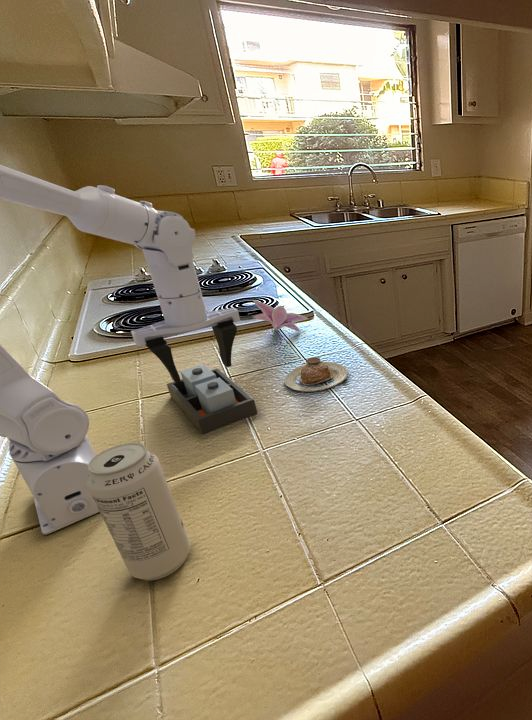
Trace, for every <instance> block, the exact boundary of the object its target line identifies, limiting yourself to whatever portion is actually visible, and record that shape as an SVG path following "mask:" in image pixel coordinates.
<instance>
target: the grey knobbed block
mask: <svg viewBox="0 0 532 720" xmlns="http://www.w3.org/2000/svg"><path fill="white" fill-rule="evenodd" d="M195 388H196V392H197V395H198V398H199V401H200V404H201V408H202V410H203V411H204V413H205V414H206V415H207V414H209V413H212V412H215V411H218V410H220V409H223V408H226V407H228V406H231V405H234V404H236V400H235V396H234V393H233V389H232V388H231V387H229V386H228V385H227V384H226V383H225V382H224V381H223V380H222V379H221V378H216V379H213V380H210V381H207V382H204V383H201V384H198V385H195Z"/></svg>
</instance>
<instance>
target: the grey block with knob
mask: <svg viewBox="0 0 532 720" xmlns="http://www.w3.org/2000/svg"><path fill="white" fill-rule="evenodd" d="M211 370H212V369H210V368H209V367H208V366H207V365H206V364H205V363H203V364H199V365H196V366H192V367H189V368H187V369H183V370H180V371H179V372H180V375H181V379H183V382H184V385H185V388H186V391H187V394H188V396H189V397H191V396H194V395H197V392H196V388H195V385H198V384H201V383H204V382H207V381H210V380H213V379H216V378H217V377H216V375H215V374H214V373H213V372H212V371H211Z"/></svg>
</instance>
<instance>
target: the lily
mask: <svg viewBox="0 0 532 720" xmlns="http://www.w3.org/2000/svg"><path fill="white" fill-rule="evenodd" d="M252 302H253V303H254V304H255V305H256V307H258V308H259V309H260V311H261V312H262V313H259V314H255V315H254V316H252V318H253V319H257V320H260V321H266V322H269V323H270V324H271V325H272V328H273V337H272V341H273V343H274V342H275V340H276V331H279V330H280V329H283V328H288V329H290V330H293V331H296V332H298V333H301V330H300V329H299V327H298V326H297V325H296V324H295V323H299V322H302V321H306V320H308V319H309V318H308V317H307V316H304V315H302V314H298V313H294V312H287V310H286V308H285V307H284V306H283V305H278V306H276V307H273V306H272V305H270V304H267V303H265V302H261V301H258V300H253V301H252Z"/></svg>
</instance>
